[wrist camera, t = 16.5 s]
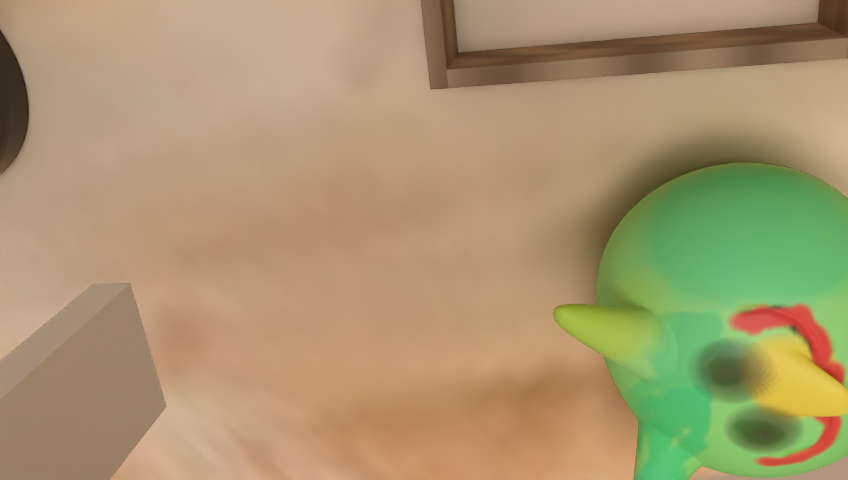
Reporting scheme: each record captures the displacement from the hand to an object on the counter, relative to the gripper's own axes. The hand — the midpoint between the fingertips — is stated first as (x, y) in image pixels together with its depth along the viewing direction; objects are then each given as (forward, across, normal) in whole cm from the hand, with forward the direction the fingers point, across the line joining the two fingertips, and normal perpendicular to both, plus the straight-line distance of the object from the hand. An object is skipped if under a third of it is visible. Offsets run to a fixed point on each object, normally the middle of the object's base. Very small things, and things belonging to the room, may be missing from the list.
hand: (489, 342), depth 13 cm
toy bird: (+35, +10, -16) cm, 40 cm away
